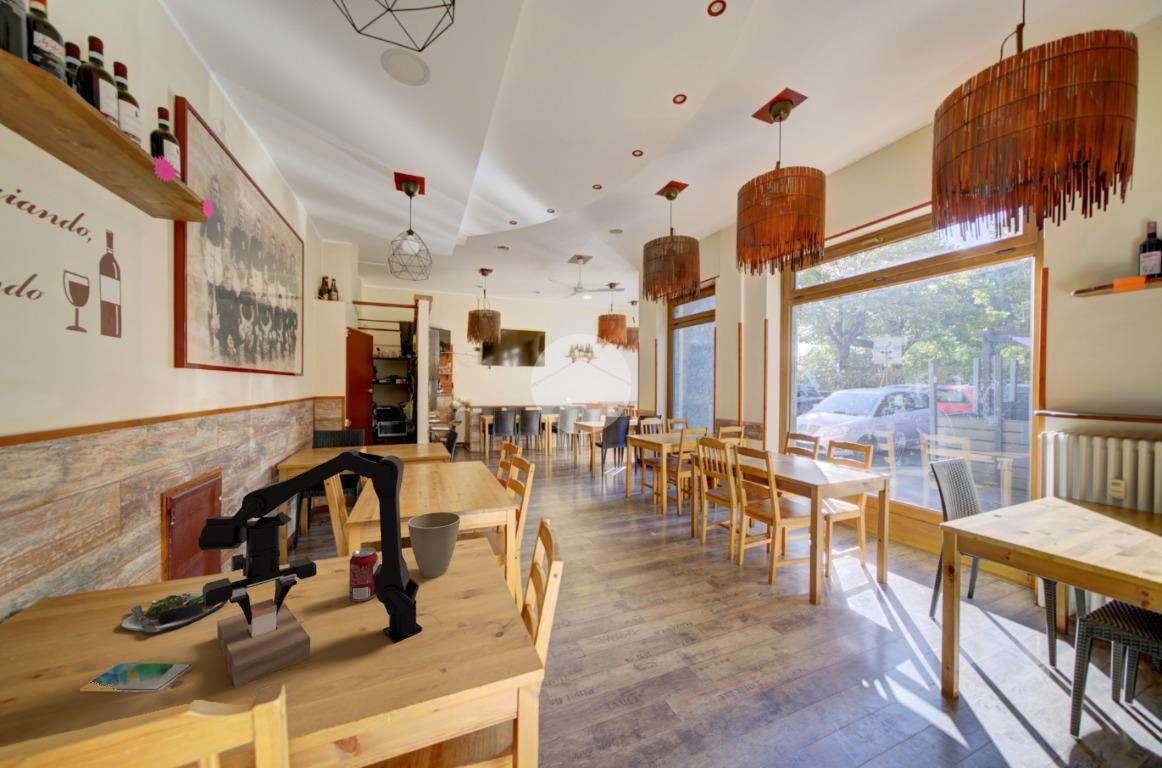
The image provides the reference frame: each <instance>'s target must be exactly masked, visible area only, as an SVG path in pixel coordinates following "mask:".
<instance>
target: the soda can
mask: <svg viewBox="0 0 1162 768" xmlns="http://www.w3.org/2000/svg"><path fill="white" fill-rule="evenodd" d="M378 566H379V555H378V553H377V552H376V548H374V547H363V548H362V547H361V548H359V549H357V550H354V551H353V552H352V555H351V557H350V559H349V573H348V574H349V576H348V577H349V585H348V586H349V590H348V594H349V596H348V597H349V600H351V601H353V602H358V603H359V602H366V601H369V600H371V599H372V598H374V597H375V596H377V595H376V593H377V592H376V593H375V594H373V592H374V587H375V586H374V581H373V574H374V572H375V571H376V569H377V567H378Z"/></svg>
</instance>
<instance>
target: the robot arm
mask: <svg viewBox="0 0 1162 768" xmlns="http://www.w3.org/2000/svg"><path fill="white" fill-rule="evenodd" d="M345 471H349V472H351V473H354V474H356V475H358V476H359V477H360V476H361V477H362V478H366V479H370V480H371V484H372V488H373V491H374V493H375V494H376V496H377V499H378V505H379V506H378V507H379V508H378V509H379V527H380V546H381V547H380V548H381V563H378V567H377V569H376V571H375V572H374V574H373V581H374V586H375V587H374V592H373V594H375V593H376V592H377V593H376V595H375V596H376V599H377V601H378V602H380V603H381V604H383V605H384V608H385V610H386V613H387V615H388V621H389V622H388V626H387V627H384V628H383V629H382V633H384V634H385V635H386V636H387V637H388V638H389V639H390V640H391V642H393V643H397V642H400V641H402V640H404V639H406V638H409V637H411V636H412V635H415V634H417V633H420V632H422V631H423V627H422V626H421V625H420V624H419V623H418V622H417V600H416V597H417V594H418V592H419V589H420V585H419V584H418V583H417V582H416V581H415V580H413V579H412V578H411V577H410V573H409V569H408V568H409V567H408V565H407V562H406V561H405V558H404V556H403V550H402V549H403V547H402V530H401V529H402V526H401V510H400V509H401V507H400V491H401V488H402V483H403V478H404V471H405V463H404V461H403V460H402V459H401V458H400V457H398V456H396V455H391V454H390V455H387V456H382V455H379V454H374V453H368V452H363V451H360V450H356V449H354V448H353V449H348V450H345V451H342V452H341V453H339V454H338V455H337V456H334V457H333V458H331V459H329V460H327V461H325V462H323V463H320V464H319V465H317V466H315V467H314V466H313V467H312V468H310V469H308V470H306V471H303V472H302V473H300V474H298V475H296V476H293V477H291V478H287V479H282V480H280V481H276V482H273V483H269V484H266V485H264V486H262V487H259V488H256V489H254V490H252V491H250V492H248V493H246V494H245V495H244V496H243V498H242V501H241V506H240V508H239V509H238V510H237V511H236V512H235V514H234V515H228V516H225V515H224V516H221V515H212V516H210V517H208V518H207V519H205V525H204V526H203V528H202V529H201V532H200V534H199V535H200V536H199V537H198V540H197V541H198V542H197V543H198V548H199V549H200V550H201V551H204V552H206V551H207V552H208V551H211V552H212V551H222V550H223V551H224V550H234V549H235V550H236V549H238V548H240V547H241V546H242V544H244V543H245V542H246V543H245V546H246V547H245V557H244V554H243V553H240V554H236V555H232V556H231V560H230V561H231V563H230V564H231V571H232V572H237V571H241V570H242V576H243V577H245V578H243V579H240V580H236V581H232V582H231V580H230V579H229V577H226V578H225V577H224V578H222V579H217V580H214V581H210V582H206V583H205V584H204V586H202V592H203V600H204V603H205V605H206V606H212V605H215V604H219V603H222V602H226V601H227V602H228V601H229V603H230V604H235V603H236V604H238V606H239V607H240V608H241V610H242V613H244V615H245V618H246V620H247V622H248V624H249V625H250V624H251V620H252V616H251V607H250V605H251V599H250V598H251V597H250V595H249V593H248V592H247V591H248V589H249V588H252V587H256V586H260V585H264V584H267V583H270V582H271V583H272V582H274V581H275V582H274V583H275V584H274V585H275V589H274V599H273V601H274V602H275V604H276V605H277V611H276V616H277V614H278V612H279V610H280V607H281V605H282V603H283V601H284V600H285V599H286V597H287V596H288V594H289V592H290V590H291V588H292V587H293V586H296V585H297V584H298V581H297V580H296V578H298V579H299V580H305V579H308V578H311V577H315V576H316V575H317V564H316V563H315V562H314V560H312V559H311V558H309V557H308V556H307V557H303V558H299V559H295V560H291V561H290V562H289V567H284V568H281V569H280V564H281V563H280V561H281V560H280V559H281V558H280V556H281V550H280V547H281V545H280V544H281V542H280V541H281V538H280V537H281V527H283V526H285V525H286V524H289V523H290V522H291V521H292V517H291V516H290V515H289V516H288V515H287V514H286V513H285V512H284V511H280V512H279V513H277V514H276V515H271V516H270V515H269V514H271V513H272V512H274V511H276V510H277V509H279V508H281V507H282V506H283V505H285V504H286V503H287V502H289V501H290V500H292V499H293V498H294V497H296V496H297V495H298V494H300V493H301V492H304V491H306V490H308V489H310V488H312V487H314V486H316V485H318V484H320V483H322V482H324V481H326V480H328V479H331V478H333V477H334V476H336V475H338V474H341V473H342V472H345ZM267 515H269V516H267ZM251 519H257V520H251ZM284 602H285V601H284Z"/></svg>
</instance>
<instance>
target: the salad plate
mask: <svg viewBox="0 0 1162 768" xmlns="http://www.w3.org/2000/svg"><path fill="white" fill-rule="evenodd" d="M227 603H228V601H226V602H222V603H219V604H215V605H212V606H206V605H205V603H204V600H203V591H190V592H185V593H181V594H177V595H176V594H170V595H168V596H165V597H164V598H160V599H159V600H157V601H156V600H155V599H153V600H151V603H150V605H149V607H146V608H144V607H143V606H142V605H136V606H133V607H131V609H130V611H131V613H132V615H129V616H128V617H126V618H125V619H124V620H123V621H122V622H121V627H122V628H124V629H127V630H130V631H137V632H143V633H149V634H150V633H152V634H160V633H166V632H171V631H175V630H178V629H182V628H185V627H188V626H190V625H192V624H195V623H196V622H198V621H200V620H202V619H204V618H206V617H208V616H210V615H212V614H214V613H216V612H217V611H219V610H221V609H222V608H223V607H224V606H225V605H226V604H227Z"/></svg>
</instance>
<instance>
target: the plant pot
mask: <svg viewBox="0 0 1162 768" xmlns="http://www.w3.org/2000/svg"><path fill="white" fill-rule="evenodd" d="M460 522H461V516H460V515H459V514H458V513H455V512H451V511H450V512H449V511H447V512H446V511H435V512H427V513H423V514H422V513H421V514H419V515H416V516H413V517H412V518H410V519H409V520H408V521H407V526H408V527H407V528H408V534H409V540H410V544H411V548H412V549H411V550H412V552H413V556H414V559H415V562H416V565H417V567H418V570H419V573H420V575H421V576H422V577H424V578H436V577H440V576H442V575H445V574H446V573H447V572H448V569H449V565H450V564H451V560H452V558H453V555H454V550H455V548H456V543H457V538H458V535H459V528H460Z"/></svg>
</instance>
